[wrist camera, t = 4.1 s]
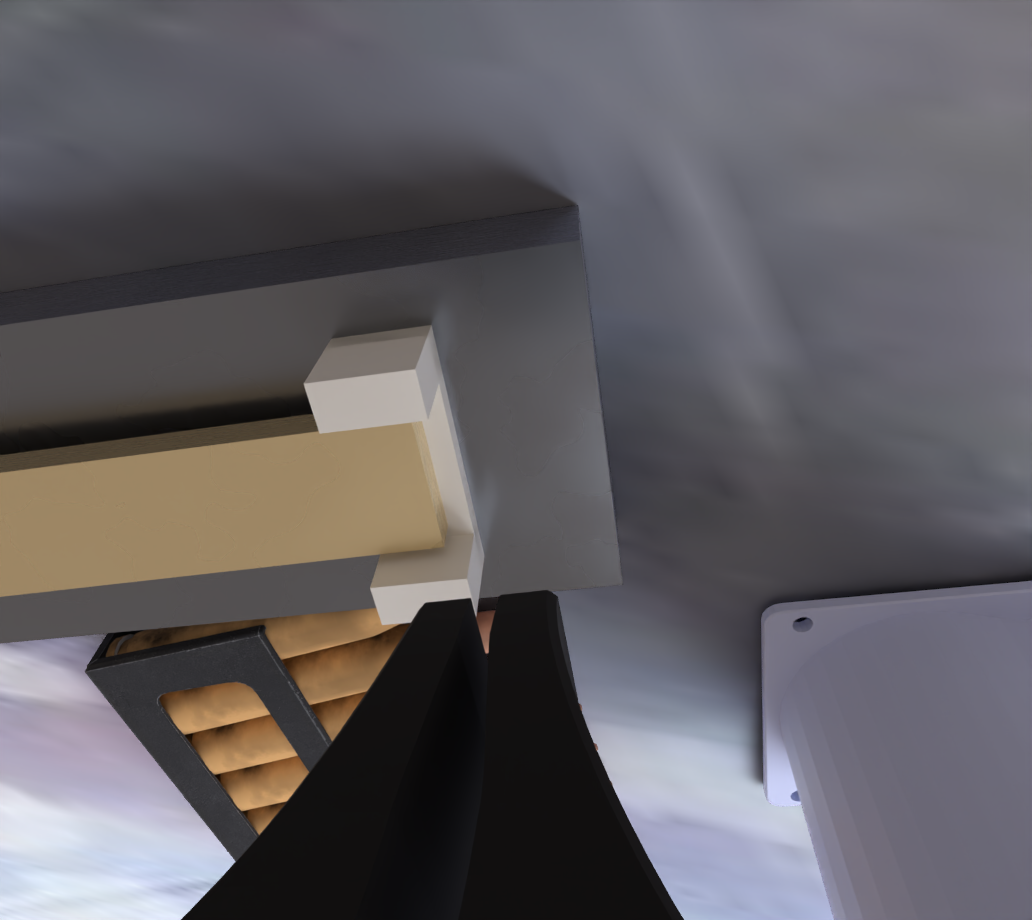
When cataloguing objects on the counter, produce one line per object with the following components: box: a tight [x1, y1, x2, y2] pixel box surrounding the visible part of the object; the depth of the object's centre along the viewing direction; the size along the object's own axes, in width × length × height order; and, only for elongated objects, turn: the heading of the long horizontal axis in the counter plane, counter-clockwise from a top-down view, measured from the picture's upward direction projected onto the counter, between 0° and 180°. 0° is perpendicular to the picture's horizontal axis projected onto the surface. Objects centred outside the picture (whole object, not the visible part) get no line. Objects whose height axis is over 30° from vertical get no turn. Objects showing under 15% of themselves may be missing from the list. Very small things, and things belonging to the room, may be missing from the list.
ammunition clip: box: [85, 608, 612, 861], centre depth 24 cm, size 11×2×12 cm
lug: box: [304, 325, 484, 625], centre depth 16 cm, size 2×6×2 cm, turn 9°
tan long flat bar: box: [0, 414, 448, 597], centre depth 17 cm, size 15×3×1 cm, turn 99°
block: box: [0, 205, 623, 643], centre depth 18 cm, size 19×8×4 cm, turn 99°
